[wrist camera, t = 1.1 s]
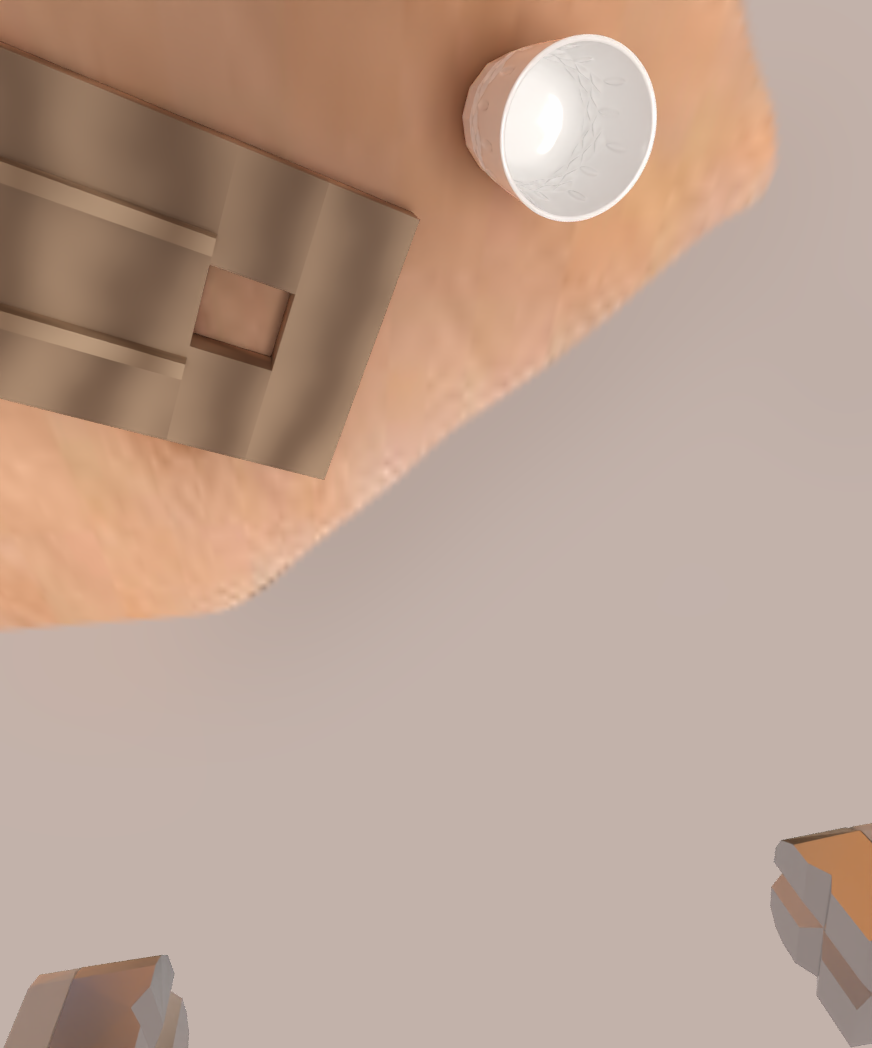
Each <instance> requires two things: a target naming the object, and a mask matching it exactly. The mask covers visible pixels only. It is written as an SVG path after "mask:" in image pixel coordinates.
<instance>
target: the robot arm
mask: <svg viewBox="0 0 872 1048" xmlns="http://www.w3.org/2000/svg"><path fill="white" fill-rule="evenodd" d="M774 862H775V864H776V865H777V866H778V868H779V869H780V871H781V872H782V875H781V876H780V877H779V878H778V880H777V881H776V882H775V883H774V884H773V886H772V887H771V910H772V914H773V918H774V922H775V926H776V929H777V931H778V933H779V935H780V938H781V940H782V942H783V944H784V946H785V947H786V949H787V951H788V952H789V953H790V955H791V956H792V958H793V960H794V962H795V963H796V964H798V965H800V966H801V967H803V968H804V969H806V970H808V971H809V972H811V973H812V974H814V975H815V976H817V997H818V998H819V1000H820V1001H821V1003H822V1004H823V1006H824V1007H825V1009H826V1010H827V1012H828V1013H829V1015H830V1016H831V1018H832V1019H833V1021H834V1022H835V1024H836V1025H837V1027H838V1028H839V1030H840V1031H841V1033H842V1034H843V1036H844V1037H845V1039H846V1041H847V1042H848V1043H849V1045H850V1047H854V1046H860V1045H866V1044H872V823H870V824H864V825H859V826H853V827H850V828H846V827H845V828H840V829H835V830H830V831H825V832H820V833H815V834H809V835H805V836H799V837H794V838H789V839H785V840H781V841H780V843H779V844H778V845H777V847H776V851H775V859H774ZM173 978H174V971H173V968H172V965H171V963H170V960H169V957H168V955H159V956H152V957H146V958H140V959H133V960H127V961H121V962H114V963H107V964H101V965H95V966H88V967H82V968H79V969H72V970H66V971H60V972H54V973H48V974H42V975H39V976H38V977H37V979H36V980H35V981H34V982H33V984H32V985H31V986H30V988H29V989H28V990H27V993H26V995H25V998H24V1000H23V1002H22V1005H21V1007H20V1010H19V1012H18V1014H17V1017H16V1019H15V1021H14V1024H13V1026H12V1029H11V1031H10V1033H9V1036H8V1038H7V1041H6V1043H5V1045H4V1048H188V1039H189V1037H188V1036H189V1029H188V1021H187V1013H186V1009H185V1006H184V1003H183V999H182V998H181V997H179V996H178V995H176V994H174V993H173V992H171V987H172V982H173Z"/></svg>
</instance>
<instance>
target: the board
mask: <svg viewBox="0 0 872 1048" xmlns="http://www.w3.org/2000/svg"><path fill="white" fill-rule="evenodd" d="M419 221H420V220H419V219H418V218H417V217H416V216H415V215H414V214H413V213H412V212H410V211H408V210H405V209H403V208H401V207H398V206H396V205H393V204H391V203H389V202H386V201H384V200H381V199H379V198H376V197H374V196H372V195H369V194H367V193H364V192H362V191H360V190H357V189H355V188H352V187H350V186H348V185H345V184H343V183H340V182H338V181H336V180H333V179H331V178H328V177H326V176H323V175H321V174H319V173H316V172H314V171H311V170H309V169H307V168H304V167H302V166H299V165H297V164H295V163H292V162H290V161H287V160H285V159H283V158H280V157H278V156H275V155H273V154H270V153H268V152H266V151H263V150H261V149H258V148H256V147H254V146H251V145H249V144H246V143H244V142H242V141H239V140H237V139H234V138H232V137H229V136H227V135H225V134H222V133H220V132H217V131H215V130H213V129H210V128H208V127H205V126H203V125H201V124H198V123H196V122H193V121H191V120H189V119H186V118H184V117H181V116H179V115H176V114H174V113H172V112H169V111H167V110H164V109H162V108H160V107H157V106H155V105H152V104H150V103H148V102H145V101H143V100H140V99H138V98H136V97H133V96H131V95H128V94H126V93H123V92H121V91H119V90H116V89H114V88H111V87H109V86H107V85H104V84H102V83H99V82H97V81H95V80H92V79H90V78H87V77H85V76H82V75H80V74H78V73H75V72H73V71H70V70H68V69H66V68H63V67H61V66H58V65H56V64H54V63H51V62H49V61H46V60H44V59H42V58H39V57H37V56H34V55H32V54H29V53H27V52H25V51H22V50H20V49H17V48H15V47H13V46H10V45H8V44H5V43H3V42H1V41H0V399H4V400H8V401H12V402H16V403H20V404H24V405H28V406H32V407H36V408H40V409H44V410H48V411H52V412H56V413H60V414H64V415H68V416H72V417H76V418H80V419H84V420H88V421H92V422H96V423H99V424H103V425H107V426H111V427H115V428H119V429H123V430H127V431H131V432H135V433H139V434H143V435H147V436H151V437H155V438H159V439H163V440H167V441H171V442H175V443H179V444H183V445H187V446H191V447H195V448H199V449H203V450H207V451H211V452H215V453H219V454H223V455H227V456H231V457H235V458H239V459H243V460H247V461H251V462H255V463H259V464H263V465H267V466H271V467H275V468H279V469H283V470H287V471H291V472H295V473H299V474H303V475H307V476H310V477H314V478H318V479H322V480H324V479H325V476H326V474H327V471H328V468H329V465H330V463H331V460H332V457H333V455H334V452H335V449H336V446H337V444H338V441H339V438H340V436H341V433H342V430H343V427H344V425H345V422H346V419H347V417H348V414H349V411H350V408H351V406H352V403H353V400H354V397H355V395H356V392H357V389H358V387H359V384H360V381H361V378H362V376H363V373H364V370H365V368H366V365H367V362H368V359H369V357H370V354H371V351H372V348H373V346H374V343H375V340H376V338H377V335H378V332H379V329H380V327H381V324H382V321H383V319H384V316H385V313H386V310H387V308H388V305H389V302H390V299H391V297H392V294H393V291H394V289H395V286H396V283H397V280H398V278H399V275H400V272H401V270H402V267H403V264H404V261H405V259H406V256H407V253H408V251H409V248H410V245H411V242H412V240H413V237H414V234H415V231H416V229H417V226H418V223H419ZM210 265H211V266H214V267H217V268H220V269H223V270H226V271H229V272H231V273H234V274H237V275H240V276H243V277H246V278H249V279H252V280H255V281H257V282H260V283H263V284H266V285H269V286H272V287H275V288H278V289H281V290H283V291H286V292H289V293H290V296H289V300H288V303H287V306H286V310H285V313H284V316H283V320H282V323H281V326H280V330H279V333H278V336H277V339H276V343H275V346H274V349H273V353H272V356H271V357H269V356H265V355H262V354H259V353H256V352H252V351H249V350H246V349H243V348H239V347H236V346H233V345H230V344H227V343H223V342H220V341H217V340H214V339H210V338H207V337H204V336H201V335H197V334H194V333H193V330H194V326H195V322H196V318H197V314H198V310H199V306H200V302H201V298H202V294H203V290H204V286H205V282H206V278H207V274H208V270H209V266H210Z"/></svg>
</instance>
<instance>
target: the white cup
mask: <svg viewBox="0 0 872 1048" xmlns="http://www.w3.org/2000/svg"><path fill="white" fill-rule="evenodd" d="M462 120H463V127H464V134H465V142H466V146H467V148H468V150H469V151H470V153H471V154H472V156H473V158H474V159H475V161H476V163H477V164H478V166H479V167H480V169H482V170H483V171H485V172H486V173H487V174H488V175H489V176H490V177H491V179H492V180H494V181H495V182H496V183H497V184H498V185H499V186H501V187H502V188H503V189H504V190H505V191H506V192H508V193H509V194H510V195H512V196H513V197H514V198H516V199H517V200H519V201H520V202H521V203H523V204H524V205H525V206H527V207H528V208H529V209H531V210H532V211H534V212H535V213H537V214H539V215H541V216H543V217H545V218H548V219H551V220H555V221H561V222H575V221H581V220H586V219H589V218H592V217H594V216H597V215H599V214H601V213H603V212H605V211H606V210H608V209H609V208H611V207H612V206H614V205H615V204H616V203H617V202H619V201H620V200H621V199H622V198H623V197H624V196H625V195H626V194H627V193H628V192H629V191H630V189H631V188H632V187H633V185H634V184H635V183H636V181H637V180H638V178H639V177H640V175H641V173H642V171H643V170H644V168H645V165H646V163H647V161H648V159H649V156H650V153H651V150H652V147H653V143H654V138H655V132H656V123H657V109H656V100H655V94H654V90H653V86H652V83H651V80H650V78H649V76H648V73H647V71H646V70H645V68H644V66H643V65H642V63H641V62H640V60H639V59H638V58H637V57H636V55H635V54H634V53H633V52H632V51H631V50H629V49H628V48H627V47H626V46H624V45H623V44H621V43H620V42H618V41H616V40H614V39H611V38H609V37H606V36H602V35H595V34H581V35H575V36H570V37H565V38H560V39H555V40H550V41H545V42H540V43H536V44H533V45H529V46H526V47H523V48H520V49H517V50H514V51H511V52H509V53H507V54H505V55H503V56H501V57H499V58H497V59H495V60H493V61H491V62H489V63H488V64H486V66H485V67H484V68H483V70H482V71H481V73H480V74H479V75H478V77H477V78H476V79H475V81H474V82H473V83H472V85H471V86H470V88H469V91H468V95H467V99H466V103H465V107H464V111H463V115H462Z"/></svg>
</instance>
